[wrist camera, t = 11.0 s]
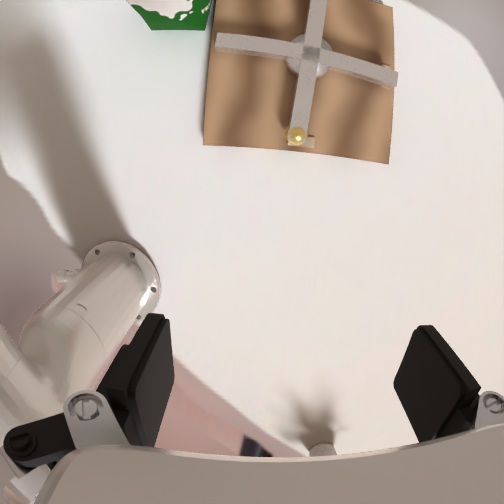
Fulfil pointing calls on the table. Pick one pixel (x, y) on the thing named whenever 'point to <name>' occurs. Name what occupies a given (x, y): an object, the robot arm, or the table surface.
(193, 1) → the milk carton
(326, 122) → the stand plate
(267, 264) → the table surface
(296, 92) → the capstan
